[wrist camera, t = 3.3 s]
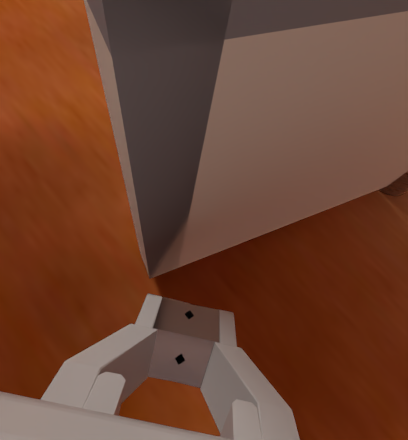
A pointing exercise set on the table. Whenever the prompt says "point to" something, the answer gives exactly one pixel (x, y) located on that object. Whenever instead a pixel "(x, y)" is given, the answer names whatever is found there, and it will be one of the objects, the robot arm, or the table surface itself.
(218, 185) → the gate
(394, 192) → the hinge post
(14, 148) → the table surface
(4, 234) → the table surface
